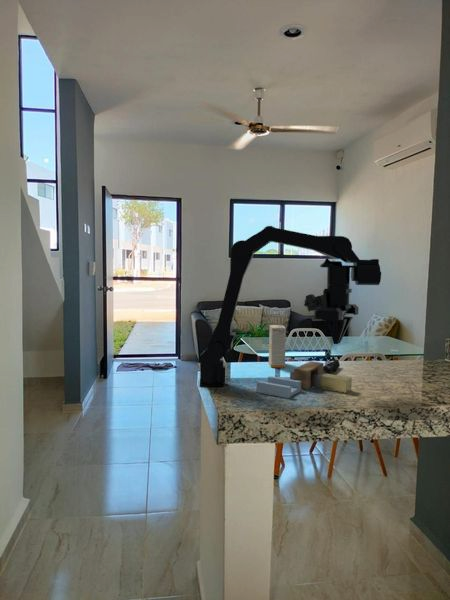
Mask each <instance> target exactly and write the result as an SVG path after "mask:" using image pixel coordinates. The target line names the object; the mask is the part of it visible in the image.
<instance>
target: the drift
mask: <svg viewBox="0 0 450 600" xmlns="http://www.w3.org/2000/svg"><path fill="white" fill-rule="evenodd" d="M322 375H325V374H323V373H317V372H311V385H310V388H313V387H314V388H313V389H318V388H319V389H320V388H321V376H322ZM289 379H291V380H294V369H293V370H290V372H289ZM320 390H321V389H320Z"/></svg>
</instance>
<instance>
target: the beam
mask: <svg viewBox="0 0 450 600" xmlns="http://www.w3.org/2000/svg"><path fill="white" fill-rule="evenodd" d="M324 366H325V364H324V362H319V361H311V360H310V361H308V362H305V363H303V364H301V365H298V366H297V367H295V368H294V369H293V370H294V380H298V381H301V390H307V391H308V390H309V389H311V387H310V385H311V372H317V373H323V368H324Z"/></svg>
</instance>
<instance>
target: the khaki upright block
mask: <svg viewBox="0 0 450 600" xmlns="http://www.w3.org/2000/svg"><path fill="white" fill-rule="evenodd" d="M352 379H353V378H352V377H350V376H343V375H338V374H332V373H330V374H325V375H322V376H321V388H322V390H327V391H331V392H337V391H338V392H337V393H342V392H344V393H343V394H348V393H350V392H351V391H352V381H353V380H352ZM350 390H351V391H350ZM347 392H348V393H347Z"/></svg>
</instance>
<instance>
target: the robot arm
mask: <svg viewBox="0 0 450 600" xmlns="http://www.w3.org/2000/svg"><path fill="white" fill-rule="evenodd" d="M270 243H276V244H281V245H286V246H291V247H296V248H301V249H306V250H311V251H314V252H317V253H318V254H321V255H323V256H326V257H327V258H325V259H324V261H323V262H322V263H321V264H320V265H319V267H320V268H327V271H326V272H327V275H326V276H327V278H326V288H324V289H323V293H322V294H320V295H317V296H315V294H313V293H312V294H311V293H310V294H307V295H305V300H304V304H303V306H304V307H306V308H307V311H308V312H311V311H312V312H313V311H314V316H313V317H314V319H315V320H322V321H324V322H325V324H327V326H328V328H329V331H330V335H331V340H332V343H333V345H339V344H341V342H342V340H343V337H344V336H345V333H346V331H347V330H348V328H349V325H350V324H351V322H352V320H353V319H354V317H353V316H348V314H349V315H354V316H356V315H357V316H358V315H359V309H360V308H359V307H358V305H357V304H356V303H353V304H352V303H350V294H352V290H353V289H352V288H350V284H351V282H350V280H351V281H352V282H354V283H355V285H356V286H379V285H380V284H381V280H382V279H381V278H382V271H381V266H380V260H379V258H372V259H359V258H360V257H358V255H357V254H356V253H355V252H354V250H353V245H352V242H351V240H350V239H349V238H348V237H347V236H342V235H314V234H309V233H303V232H298V231H294V230H290V229H289V230H288V229H282V228H279V227H275V226H273V225H266V226H265V227H263V229H261V230H260V231H258V232H257V233H255V234H253V235H252V236H250V237H248V238H247V239H246V240H242V239H240V240H238V241H236V242H234V243H233V244H232V247H231V249H230V261H229V262H230V264H229V265H230V269H229V275H228V276H229V277H228V280H227V285H226V289H225V292H224V297H223V301H222V306H221V308H220V309H221V310H220V313H219V317H218V320H217V324H216V326H215V328H214V330H213V332H212V334H211V336H210V339H209V341H208V343H207V348H205V349H204V350H203V351H202V353H201V354H200V355H199V356H198V360H199V362H200V364H199V370H200V371H199V373H200V374H199V376H200V377H199V386H200V387H224V386H225V385H224V383H226V365H224V360H222V359H223V358H224V357H226V356H227V355H228V353H229V351H232V350H233V347H234V339H235V337H236V334H237V332H233V331H232V328H233V325H232V324H233V321H234V317H235V313H236V309H237V304H238V300H239V296H240V293H241V289H242V285H243V281H244V278H245V275H246V273H247V270H248V269H249V267H250V264H251V262H252V260H253V258H254V254H255V253H257V252H259V251H260V250H261V249H263V248H264V247H265V246H267V245H268V244H270ZM329 258H331V259H332V260H334V261H332V260H331V261H330V259H329ZM336 260H338V261H336ZM339 260H340V261H339ZM343 262H344V263H345V265H343ZM346 264H352V265H346ZM350 278H351V279H350Z"/></svg>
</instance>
